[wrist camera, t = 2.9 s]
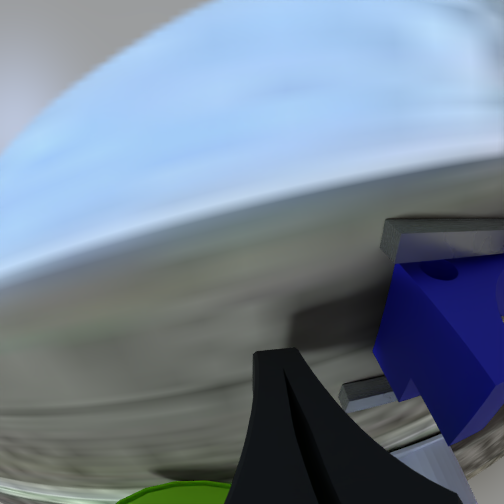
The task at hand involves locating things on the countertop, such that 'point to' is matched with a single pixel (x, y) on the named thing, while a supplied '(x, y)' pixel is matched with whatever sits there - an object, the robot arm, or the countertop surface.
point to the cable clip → (446, 340)
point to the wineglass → (181, 493)
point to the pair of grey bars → (415, 250)
